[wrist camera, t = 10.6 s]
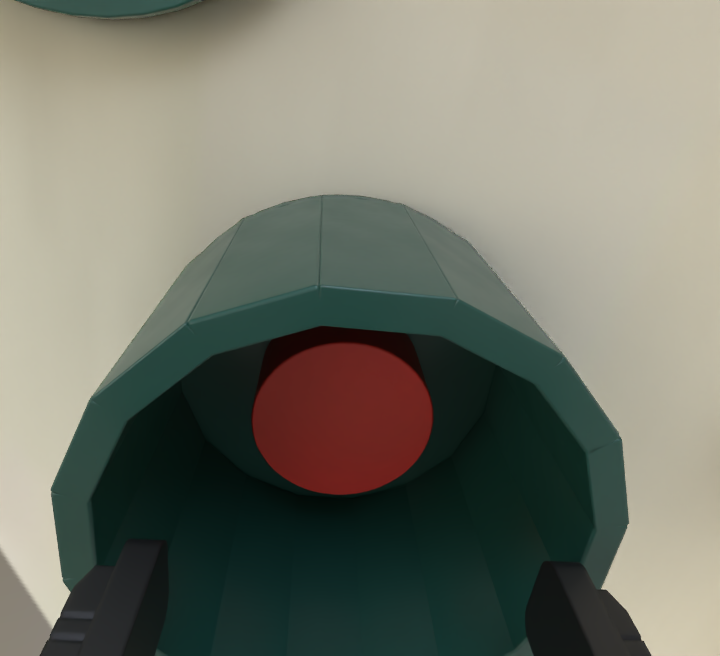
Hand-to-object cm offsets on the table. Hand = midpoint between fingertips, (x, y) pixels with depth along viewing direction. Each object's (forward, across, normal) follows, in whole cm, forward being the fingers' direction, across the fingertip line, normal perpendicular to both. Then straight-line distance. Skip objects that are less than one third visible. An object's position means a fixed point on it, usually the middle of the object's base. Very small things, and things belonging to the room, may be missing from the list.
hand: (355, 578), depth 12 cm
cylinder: (+9, 0, 0) cm, 9 cm away
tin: (+9, 0, 0) cm, 9 cm away
